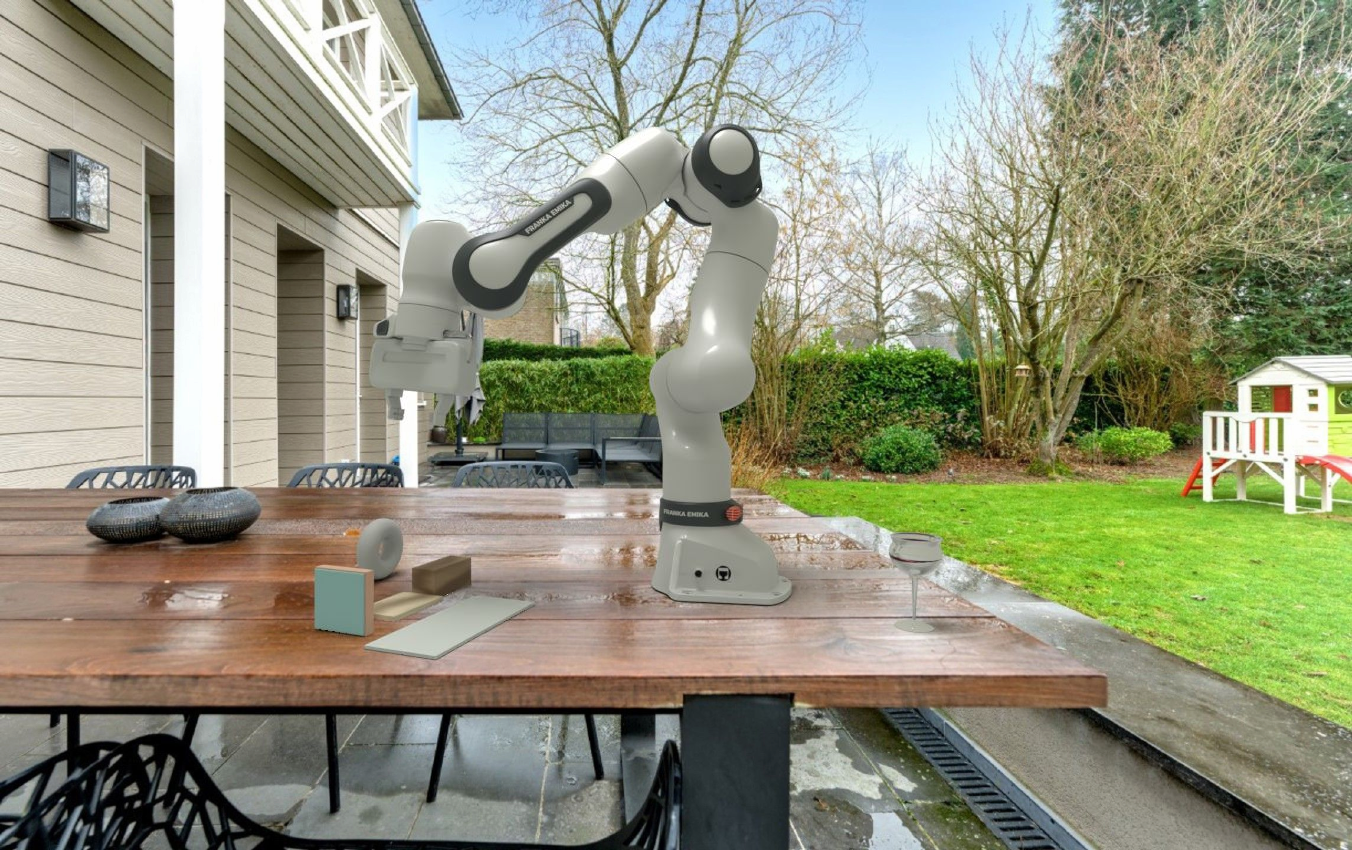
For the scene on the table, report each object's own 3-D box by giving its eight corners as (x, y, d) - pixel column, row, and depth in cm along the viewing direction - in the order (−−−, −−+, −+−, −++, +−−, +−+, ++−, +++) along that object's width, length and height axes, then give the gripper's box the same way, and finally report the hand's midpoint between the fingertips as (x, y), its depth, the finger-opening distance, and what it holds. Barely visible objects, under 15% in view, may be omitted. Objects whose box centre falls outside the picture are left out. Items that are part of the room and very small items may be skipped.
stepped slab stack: (479, 586, 105) (479, 558, 105) (394, 622, 87) (394, 588, 87) (442, 582, 107) (442, 554, 107) (351, 616, 89) (351, 584, 89)
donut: (370, 587, 103) (370, 524, 103) (351, 586, 104) (351, 523, 104) (407, 571, 113) (407, 514, 113) (389, 570, 114) (389, 513, 113)
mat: (534, 604, 95) (534, 602, 95) (435, 659, 74) (435, 656, 74) (475, 597, 98) (475, 595, 98) (364, 648, 77) (364, 645, 77)
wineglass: (943, 637, 84) (945, 543, 83) (887, 631, 86) (889, 539, 85) (938, 621, 90) (940, 533, 90) (886, 615, 92) (888, 530, 92)
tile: (373, 633, 83) (373, 570, 83) (364, 637, 81) (364, 573, 81) (323, 626, 85) (323, 564, 85) (313, 629, 84) (313, 567, 83)
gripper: (492, 335, 95) (480, 430, 94) (402, 333, 105) (391, 418, 105) (457, 326, 89) (444, 427, 89) (366, 325, 100) (354, 415, 100)
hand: (415, 422), depth 97 cm, fingers open, 8 cm apart
